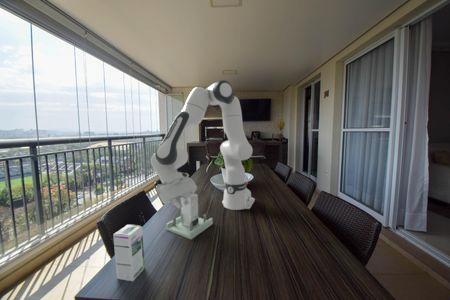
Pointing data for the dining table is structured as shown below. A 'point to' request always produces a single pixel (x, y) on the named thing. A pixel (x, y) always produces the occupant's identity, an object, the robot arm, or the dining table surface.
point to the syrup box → (129, 252)
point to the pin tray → (186, 231)
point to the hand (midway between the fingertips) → (187, 204)
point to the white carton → (189, 209)
